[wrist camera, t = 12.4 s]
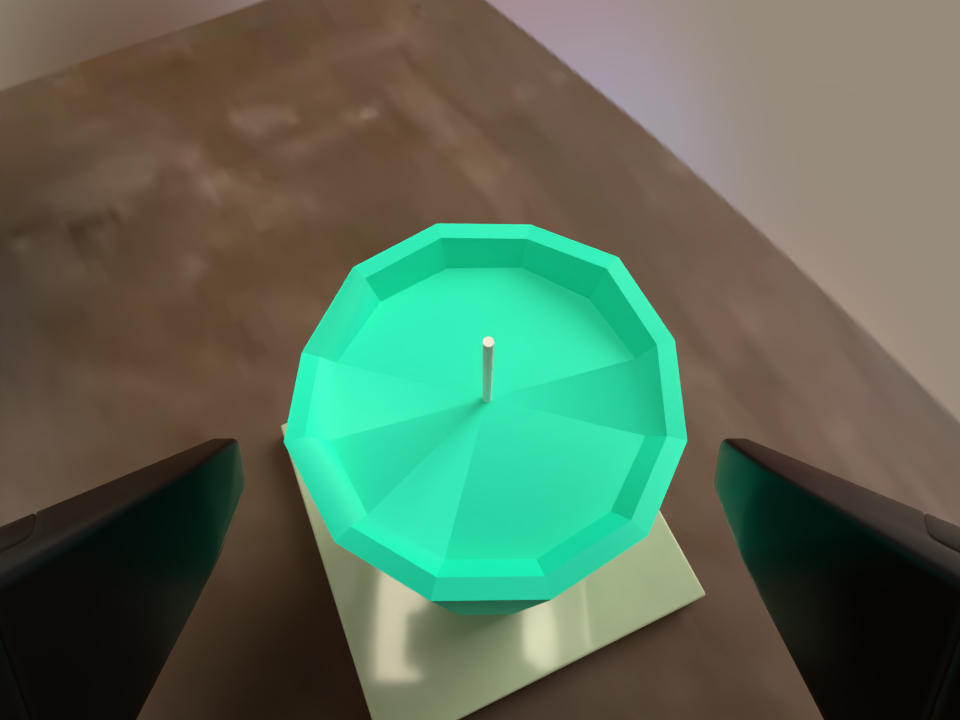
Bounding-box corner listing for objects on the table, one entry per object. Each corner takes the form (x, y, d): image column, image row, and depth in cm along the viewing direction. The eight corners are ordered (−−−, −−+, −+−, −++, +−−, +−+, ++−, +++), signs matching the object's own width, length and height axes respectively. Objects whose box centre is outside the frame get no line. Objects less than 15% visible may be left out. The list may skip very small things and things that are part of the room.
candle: (481, 383, 20) (483, 90, 9) (621, 510, 18) (832, 337, 7) (345, 514, 18) (142, 346, 7) (486, 667, 17) (496, 747, 6)
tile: (698, 596, 18) (707, 595, 17) (387, 752, 16) (382, 758, 16) (551, 327, 22) (554, 316, 21) (286, 432, 20) (279, 424, 19)
